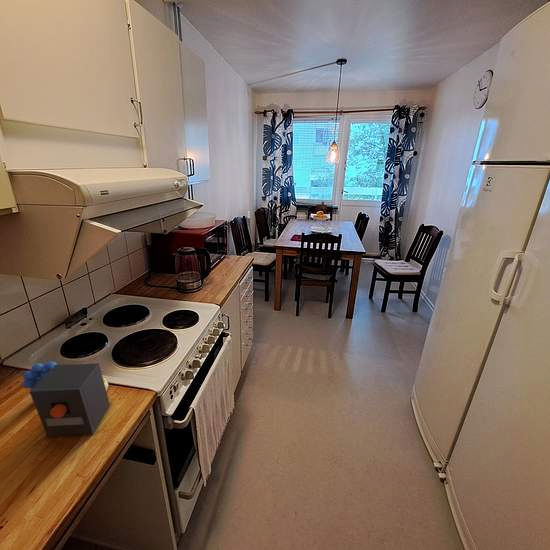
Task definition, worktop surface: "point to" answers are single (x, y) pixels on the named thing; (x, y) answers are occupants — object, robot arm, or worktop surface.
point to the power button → (58, 411)
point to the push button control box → (71, 399)
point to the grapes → (36, 374)
